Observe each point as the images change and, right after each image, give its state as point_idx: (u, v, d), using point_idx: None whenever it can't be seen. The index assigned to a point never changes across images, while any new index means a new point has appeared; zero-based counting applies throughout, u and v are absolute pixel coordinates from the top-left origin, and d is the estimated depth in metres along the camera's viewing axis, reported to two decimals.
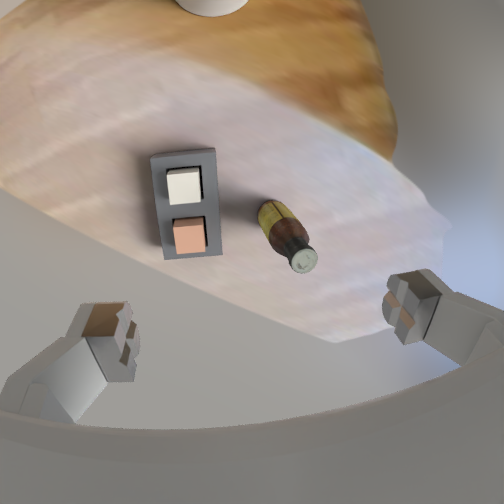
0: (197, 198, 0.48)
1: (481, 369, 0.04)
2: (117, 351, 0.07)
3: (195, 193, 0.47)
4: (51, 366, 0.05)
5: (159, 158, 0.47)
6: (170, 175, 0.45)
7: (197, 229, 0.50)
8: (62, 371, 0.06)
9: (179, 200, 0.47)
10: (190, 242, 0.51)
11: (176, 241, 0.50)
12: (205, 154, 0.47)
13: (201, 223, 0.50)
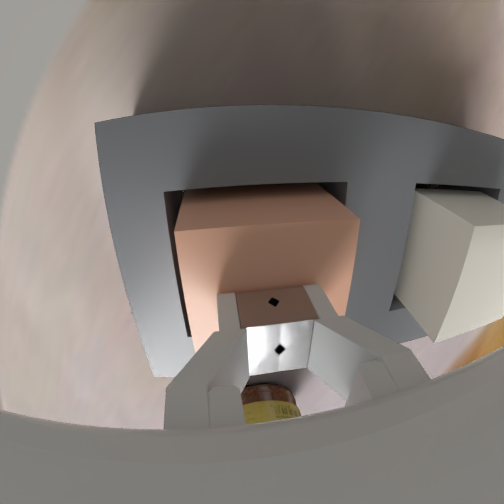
0: (448, 331, 0.10)
1: (481, 369, 0.04)
2: (276, 340, 0.07)
3: (462, 324, 0.10)
4: (223, 364, 0.06)
5: None
6: None
7: None
8: (228, 368, 0.06)
9: (472, 268, 0.08)
10: None
11: (268, 233, 0.08)
12: None
13: None
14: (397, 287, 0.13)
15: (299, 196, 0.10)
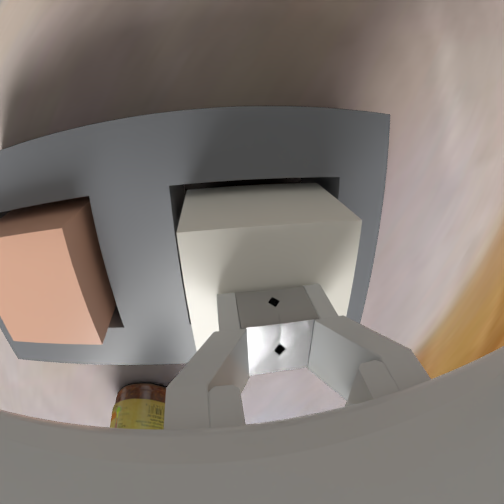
0: None
1: (481, 369, 0.04)
2: (276, 340, 0.07)
3: None
4: (223, 364, 0.06)
5: (383, 154, 0.10)
6: (354, 239, 0.08)
7: (78, 327, 0.10)
8: (228, 368, 0.06)
9: (205, 284, 0.08)
10: (21, 298, 0.09)
11: (9, 242, 0.08)
12: (357, 318, 0.14)
13: (104, 329, 0.11)
14: None
15: (60, 209, 0.10)
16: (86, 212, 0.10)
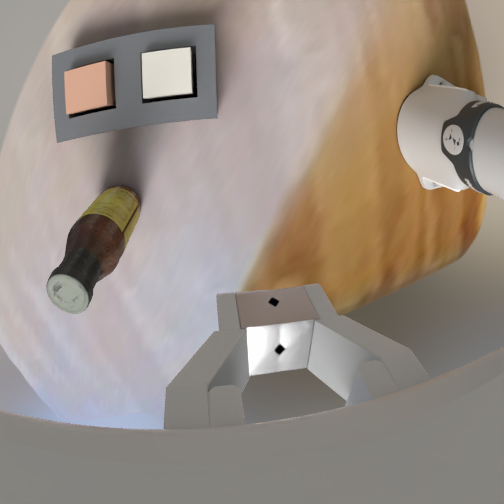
0: (149, 93, 0.26)
1: (481, 369, 0.04)
2: (276, 340, 0.07)
3: (156, 90, 0.26)
4: (223, 364, 0.06)
5: (213, 37, 0.25)
6: (189, 52, 0.25)
7: (100, 97, 0.25)
8: (228, 368, 0.06)
9: (147, 66, 0.25)
10: (80, 89, 0.24)
11: (83, 68, 0.23)
12: (214, 103, 0.29)
13: (108, 103, 0.26)
14: None
15: None
16: (111, 65, 0.25)
